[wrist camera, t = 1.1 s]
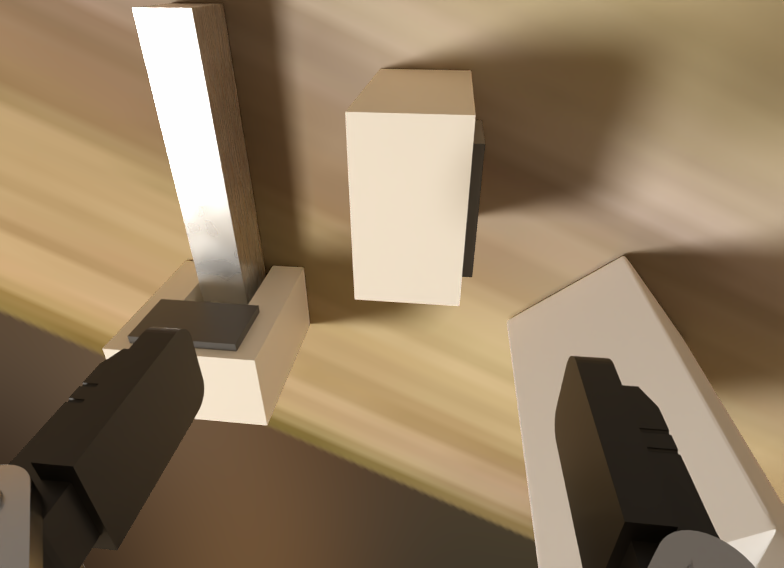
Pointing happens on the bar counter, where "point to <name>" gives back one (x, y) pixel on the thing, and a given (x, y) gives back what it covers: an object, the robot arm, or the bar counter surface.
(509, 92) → the bar counter surface
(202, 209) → the rail
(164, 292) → the block
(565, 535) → the milk carton
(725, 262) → the bar counter surface
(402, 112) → the cream rectangular block
